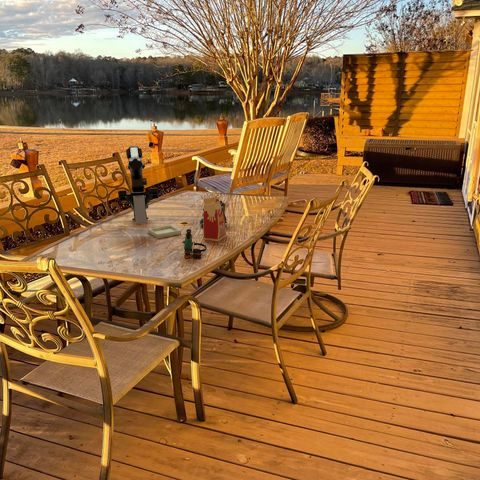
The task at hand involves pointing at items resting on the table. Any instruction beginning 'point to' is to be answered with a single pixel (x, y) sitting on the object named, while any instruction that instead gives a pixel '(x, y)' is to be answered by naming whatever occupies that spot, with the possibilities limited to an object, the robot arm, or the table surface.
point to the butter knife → (171, 254)
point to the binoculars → (189, 244)
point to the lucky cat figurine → (222, 211)
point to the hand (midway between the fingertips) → (140, 209)
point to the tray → (164, 231)
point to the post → (140, 209)
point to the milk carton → (213, 220)
